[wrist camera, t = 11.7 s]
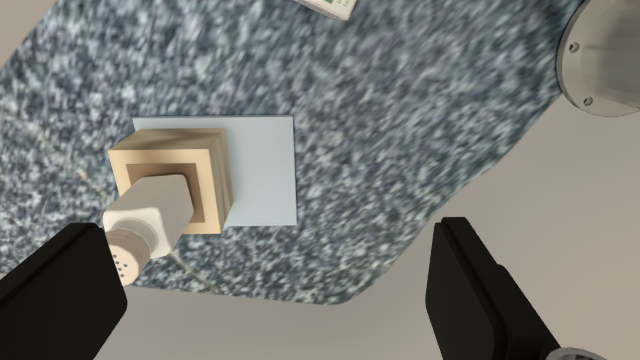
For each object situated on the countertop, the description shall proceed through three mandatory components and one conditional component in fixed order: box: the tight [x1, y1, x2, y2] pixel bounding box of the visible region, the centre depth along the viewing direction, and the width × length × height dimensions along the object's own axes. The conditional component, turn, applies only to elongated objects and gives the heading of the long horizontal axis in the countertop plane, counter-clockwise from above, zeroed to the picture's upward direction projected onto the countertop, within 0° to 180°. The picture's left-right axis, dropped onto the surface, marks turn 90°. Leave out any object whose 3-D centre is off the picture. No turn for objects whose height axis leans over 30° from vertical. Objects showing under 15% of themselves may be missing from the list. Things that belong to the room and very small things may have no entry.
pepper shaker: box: [103, 175, 194, 286], centre depth 26 cm, size 4×4×10 cm
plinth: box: [108, 128, 234, 234], centre depth 33 cm, size 8×8×6 cm
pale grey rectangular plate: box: [133, 115, 297, 226], centre depth 36 cm, size 15×12×1 cm
